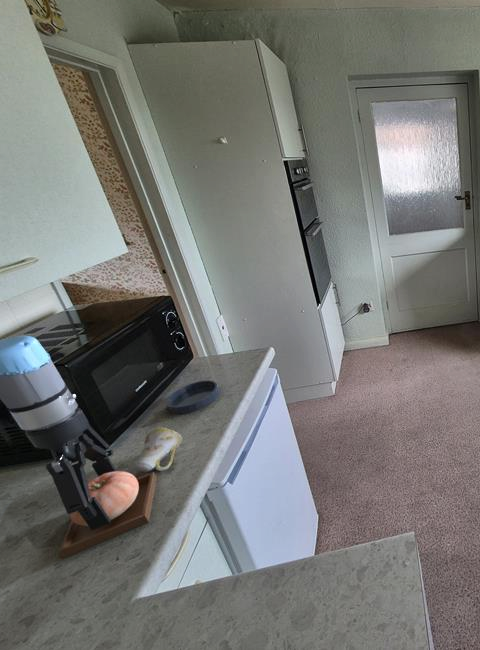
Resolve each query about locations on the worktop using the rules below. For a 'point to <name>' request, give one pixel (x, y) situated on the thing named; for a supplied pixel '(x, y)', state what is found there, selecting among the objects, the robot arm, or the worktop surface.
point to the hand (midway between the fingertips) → (108, 503)
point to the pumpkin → (111, 494)
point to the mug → (158, 449)
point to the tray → (112, 521)
